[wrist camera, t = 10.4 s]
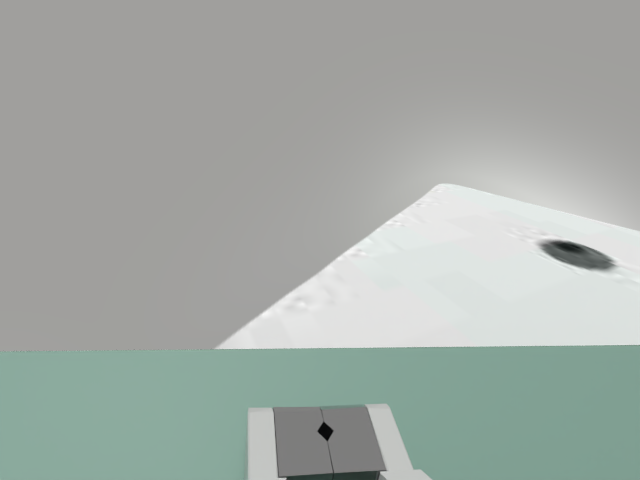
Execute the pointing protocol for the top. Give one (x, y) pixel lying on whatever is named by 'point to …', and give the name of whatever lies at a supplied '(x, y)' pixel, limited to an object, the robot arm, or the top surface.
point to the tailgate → (322, 390)
